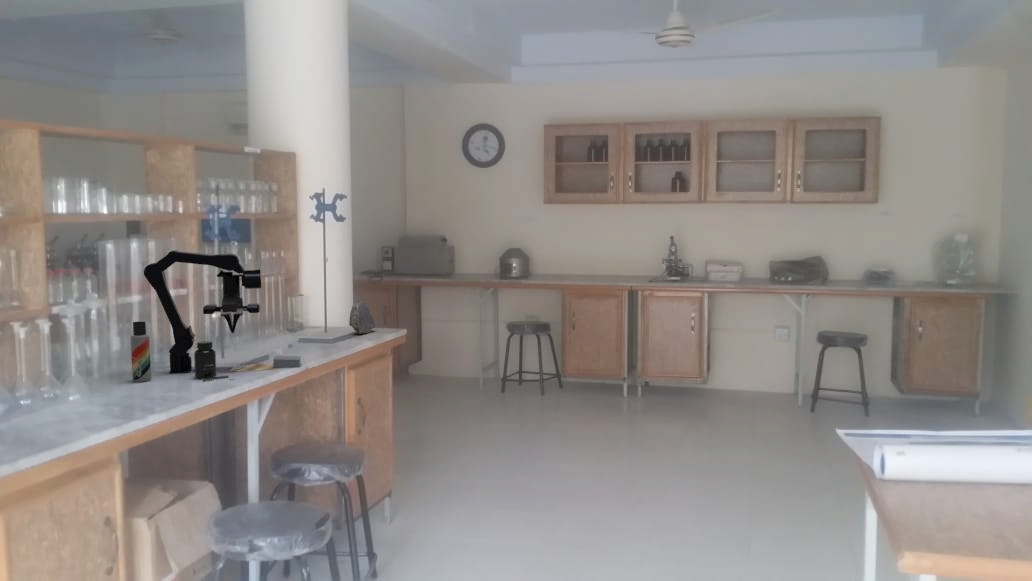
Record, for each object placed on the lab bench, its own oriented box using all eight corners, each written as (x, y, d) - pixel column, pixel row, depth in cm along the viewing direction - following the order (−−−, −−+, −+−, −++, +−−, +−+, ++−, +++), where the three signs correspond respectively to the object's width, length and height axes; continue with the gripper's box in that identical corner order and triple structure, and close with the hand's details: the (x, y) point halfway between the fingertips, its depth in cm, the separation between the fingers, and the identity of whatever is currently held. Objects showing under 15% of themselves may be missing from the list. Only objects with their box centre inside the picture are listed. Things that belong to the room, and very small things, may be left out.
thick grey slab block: (273, 359, 292) (299, 359, 294) (275, 355, 299) (300, 356, 301) (273, 367, 292) (299, 368, 294) (274, 364, 299) (300, 364, 301)
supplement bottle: (209, 379, 275) (207, 344, 274) (190, 378, 277) (189, 343, 276) (220, 375, 282) (219, 340, 281) (202, 374, 283) (201, 340, 282)
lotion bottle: (131, 382, 271) (128, 322, 269) (134, 379, 276) (131, 320, 274) (149, 381, 272) (146, 321, 270) (152, 378, 278) (149, 319, 276)
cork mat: (229, 372, 287) (229, 371, 287) (233, 366, 298) (233, 364, 298) (276, 370, 290) (276, 369, 290) (279, 364, 302) (279, 363, 302)
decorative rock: (358, 336, 366) (357, 302, 364) (346, 335, 369) (345, 302, 367) (378, 331, 381) (377, 298, 379) (366, 330, 384) (365, 298, 382)
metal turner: (205, 383, 270) (205, 380, 270) (201, 379, 275) (201, 376, 275) (250, 377, 278) (250, 374, 278) (246, 374, 283) (245, 372, 283)
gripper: (199, 292, 281) (201, 337, 283) (256, 291, 285) (258, 335, 287) (204, 288, 292) (206, 332, 294) (259, 287, 296) (260, 330, 298)
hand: (232, 332), depth 293 cm, fingers closed
